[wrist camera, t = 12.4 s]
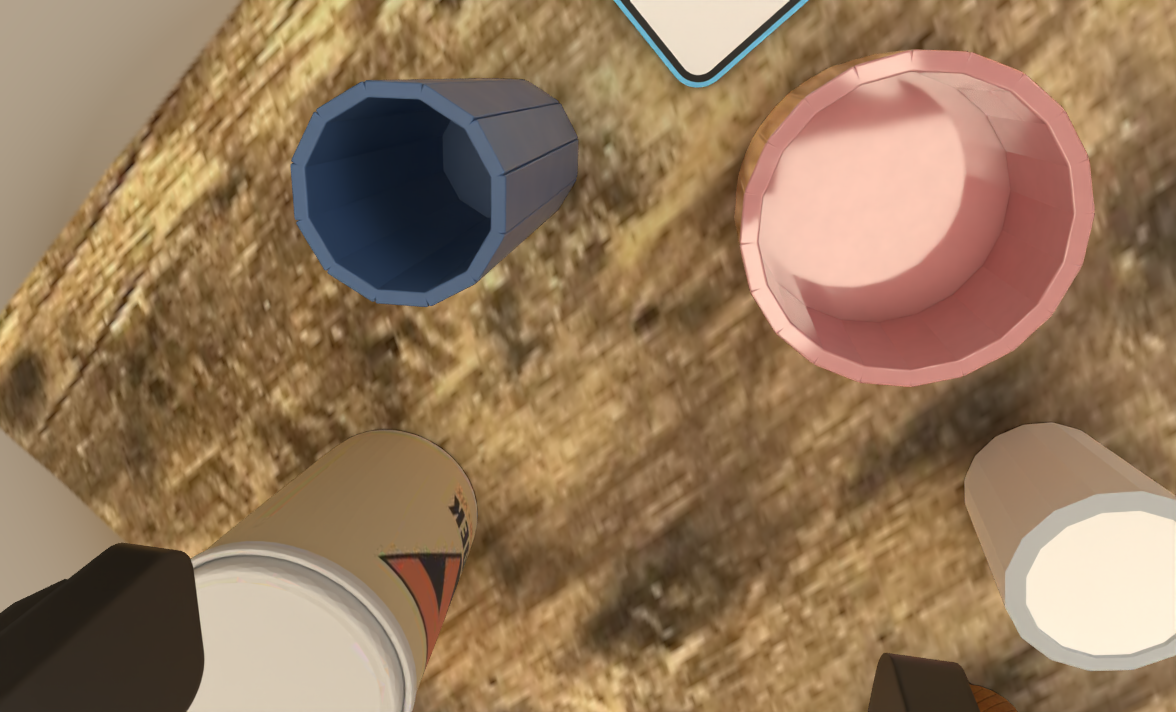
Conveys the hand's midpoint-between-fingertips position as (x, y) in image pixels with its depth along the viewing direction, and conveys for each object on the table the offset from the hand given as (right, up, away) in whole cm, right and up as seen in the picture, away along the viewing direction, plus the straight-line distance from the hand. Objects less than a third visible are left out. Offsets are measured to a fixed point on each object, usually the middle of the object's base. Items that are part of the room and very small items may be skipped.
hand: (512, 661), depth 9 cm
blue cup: (-2, +11, +23) cm, 25 cm away
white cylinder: (+19, -2, +24) cm, 31 cm away
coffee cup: (-8, -3, +29) cm, 30 cm away
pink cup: (+12, +9, +21) cm, 26 cm away
